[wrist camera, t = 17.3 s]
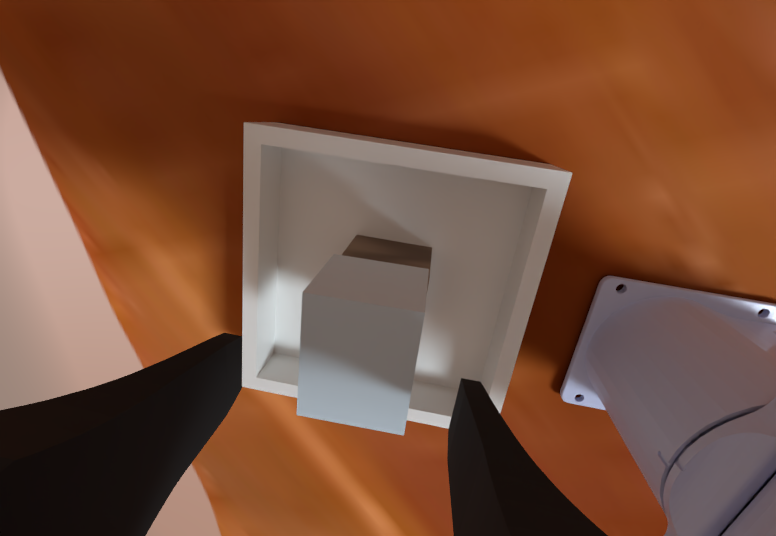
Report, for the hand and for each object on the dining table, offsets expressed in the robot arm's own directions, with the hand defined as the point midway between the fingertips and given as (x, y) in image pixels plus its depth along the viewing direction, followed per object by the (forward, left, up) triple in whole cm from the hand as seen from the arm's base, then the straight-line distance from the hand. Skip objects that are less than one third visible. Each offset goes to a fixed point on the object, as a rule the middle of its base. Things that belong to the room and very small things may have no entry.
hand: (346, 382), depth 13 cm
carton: (0, 0, -5) cm, 5 cm away
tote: (0, 0, -10) cm, 10 cm away
